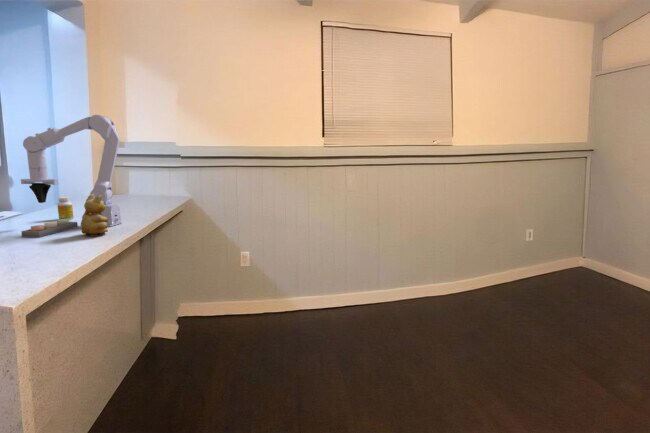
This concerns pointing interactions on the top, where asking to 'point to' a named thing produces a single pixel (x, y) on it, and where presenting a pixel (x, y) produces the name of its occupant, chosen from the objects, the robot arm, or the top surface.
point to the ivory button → (50, 224)
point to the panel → (49, 230)
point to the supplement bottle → (65, 208)
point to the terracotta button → (37, 228)
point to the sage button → (63, 221)
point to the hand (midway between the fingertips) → (42, 202)
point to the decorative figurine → (94, 217)
